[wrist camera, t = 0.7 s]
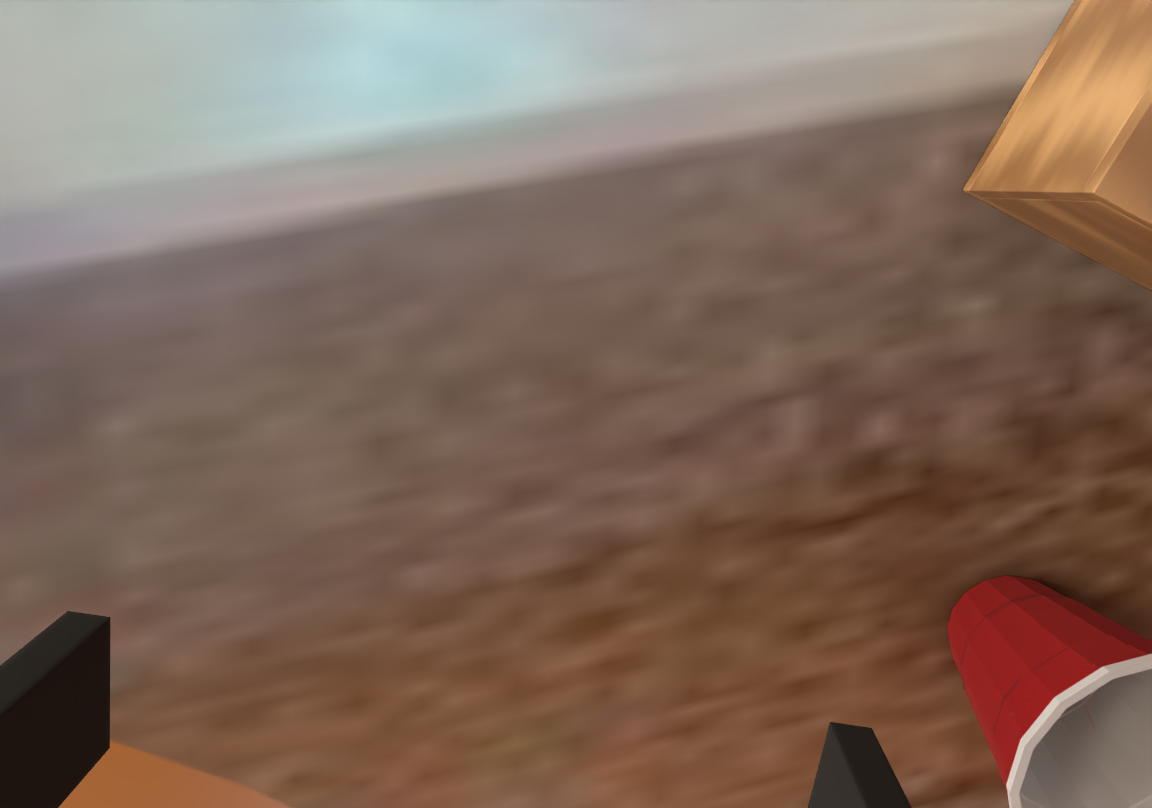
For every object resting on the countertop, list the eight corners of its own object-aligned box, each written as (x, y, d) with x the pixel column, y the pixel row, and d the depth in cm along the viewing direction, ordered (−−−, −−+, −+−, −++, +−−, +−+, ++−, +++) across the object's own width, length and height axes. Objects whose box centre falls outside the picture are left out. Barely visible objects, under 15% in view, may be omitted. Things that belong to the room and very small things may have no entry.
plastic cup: (1054, 742, 45) (1212, 936, 33) (866, 683, 44) (962, 859, 33) (1152, 566, 42) (1362, 711, 31) (955, 500, 42) (1092, 623, 30)
